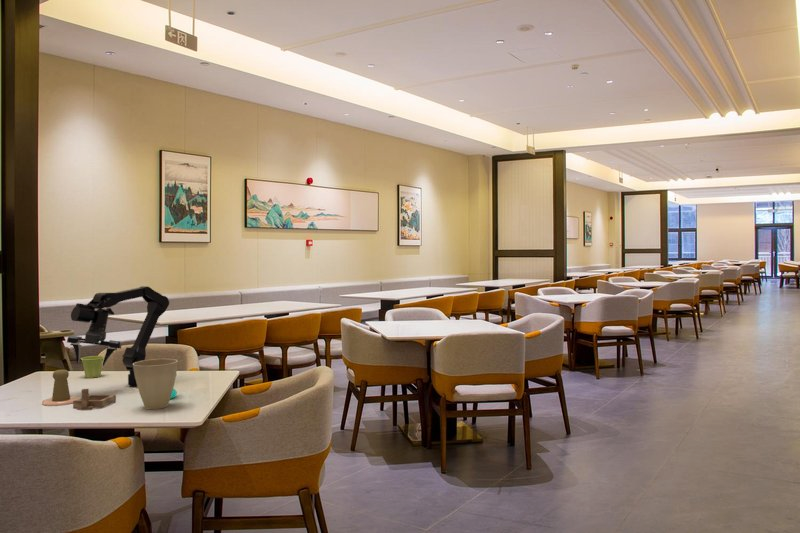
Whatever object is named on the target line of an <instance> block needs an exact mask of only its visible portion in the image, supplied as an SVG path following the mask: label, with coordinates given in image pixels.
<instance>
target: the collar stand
mask: <svg viewBox="0 0 800 533" xmlns="http://www.w3.org/2000/svg"><path fill="white" fill-rule="evenodd" d="M116 402H117V395H116V394H89V388H82V389H81V397H79V399H77V400H75V401H73V403H72V406H73V407H72V408H73V409H76V410H77V411H79V410H80V411H82V410H83V411H85V410H86V411H92V410H94V409H103V408H106V407H107V406H110V405H112V404H115V403H116Z"/></svg>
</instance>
